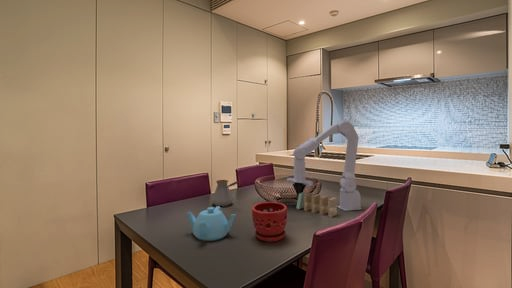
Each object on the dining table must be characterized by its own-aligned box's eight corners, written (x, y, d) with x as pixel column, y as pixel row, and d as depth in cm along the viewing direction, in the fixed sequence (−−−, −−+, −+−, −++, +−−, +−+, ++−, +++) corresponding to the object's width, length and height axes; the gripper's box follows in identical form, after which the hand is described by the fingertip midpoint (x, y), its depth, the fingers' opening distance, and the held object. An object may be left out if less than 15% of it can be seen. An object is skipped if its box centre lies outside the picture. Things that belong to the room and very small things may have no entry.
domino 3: (319, 214, 134) (319, 197, 133) (325, 211, 137) (325, 195, 137) (322, 215, 133) (322, 198, 132) (328, 212, 136) (328, 196, 136)
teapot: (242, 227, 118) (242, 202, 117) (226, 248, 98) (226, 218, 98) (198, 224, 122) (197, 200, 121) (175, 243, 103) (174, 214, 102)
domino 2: (311, 212, 137) (311, 196, 136) (317, 210, 140) (317, 194, 140) (314, 213, 136) (314, 196, 135) (320, 210, 139) (320, 194, 139)
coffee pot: (207, 204, 153) (207, 176, 152) (225, 200, 160) (225, 174, 159) (230, 213, 136) (229, 182, 135) (248, 209, 144) (248, 179, 143)
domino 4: (328, 216, 131) (328, 199, 130) (333, 213, 134) (333, 197, 134) (331, 217, 130) (331, 199, 129) (336, 214, 133) (336, 197, 133)
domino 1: (303, 210, 140) (303, 194, 139) (309, 208, 144) (309, 192, 143) (306, 211, 139) (306, 195, 138) (312, 208, 142) (312, 193, 142)
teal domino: (296, 208, 143) (298, 193, 141) (302, 206, 147) (304, 191, 145) (298, 209, 142) (301, 194, 140) (304, 207, 146) (307, 192, 144)
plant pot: (254, 230, 114) (253, 201, 114) (287, 231, 113) (286, 201, 112) (250, 244, 102) (249, 211, 101) (287, 245, 100) (287, 211, 99)
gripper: (283, 170, 146) (283, 196, 147) (307, 173, 136) (307, 201, 137) (291, 169, 151) (291, 194, 152) (315, 172, 141) (315, 198, 142)
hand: (299, 197), depth 144 cm, fingers closed
